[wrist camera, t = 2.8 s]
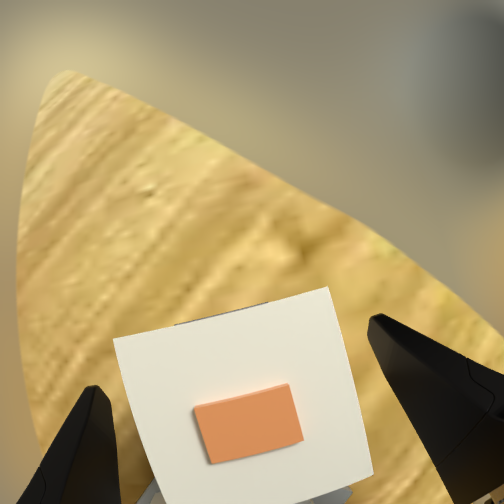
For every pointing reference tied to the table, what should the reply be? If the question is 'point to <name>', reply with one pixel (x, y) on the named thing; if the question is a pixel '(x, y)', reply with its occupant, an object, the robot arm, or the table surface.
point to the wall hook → (482, 499)
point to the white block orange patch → (248, 404)
